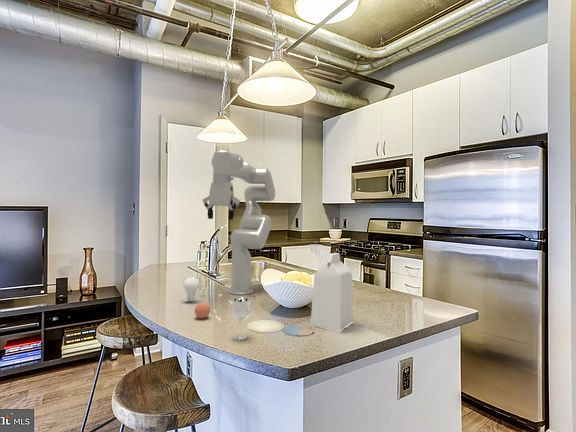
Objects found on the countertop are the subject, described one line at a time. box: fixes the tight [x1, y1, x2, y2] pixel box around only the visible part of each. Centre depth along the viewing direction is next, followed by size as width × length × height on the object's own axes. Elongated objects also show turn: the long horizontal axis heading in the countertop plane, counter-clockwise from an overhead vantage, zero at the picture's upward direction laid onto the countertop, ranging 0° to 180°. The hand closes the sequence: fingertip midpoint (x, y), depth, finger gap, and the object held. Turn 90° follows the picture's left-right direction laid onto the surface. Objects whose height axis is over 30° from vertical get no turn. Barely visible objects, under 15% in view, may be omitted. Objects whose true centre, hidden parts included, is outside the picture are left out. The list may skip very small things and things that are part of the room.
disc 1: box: [246, 319, 285, 334], centre depth 121 cm, size 13×13×1 cm
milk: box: [310, 252, 354, 330], centre depth 125 cm, size 12×12×26 cm
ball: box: [194, 302, 211, 319], centre depth 128 cm, size 6×6×6 cm
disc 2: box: [281, 324, 302, 337], centre depth 117 cm, size 11×11×1 cm
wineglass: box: [231, 297, 251, 341], centre depth 109 cm, size 6×6×12 cm
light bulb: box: [183, 276, 200, 303], centre depth 149 cm, size 7×7×11 cm
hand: (220, 219), depth 148 cm, fingers open, 9 cm apart
